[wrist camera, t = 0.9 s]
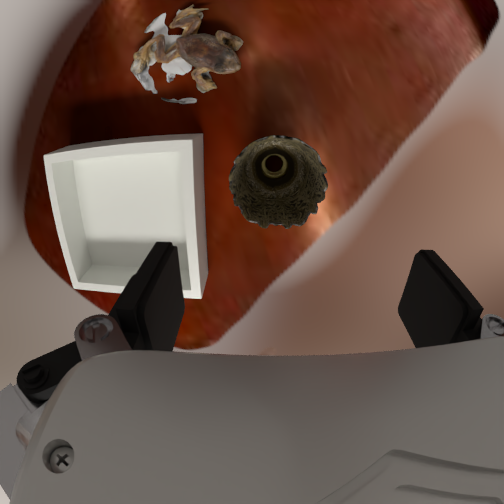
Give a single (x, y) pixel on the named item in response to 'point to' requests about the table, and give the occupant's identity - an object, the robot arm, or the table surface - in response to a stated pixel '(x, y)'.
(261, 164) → the embossed bronze vase
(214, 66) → the frog figurine
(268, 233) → the table surface
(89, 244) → the bin
